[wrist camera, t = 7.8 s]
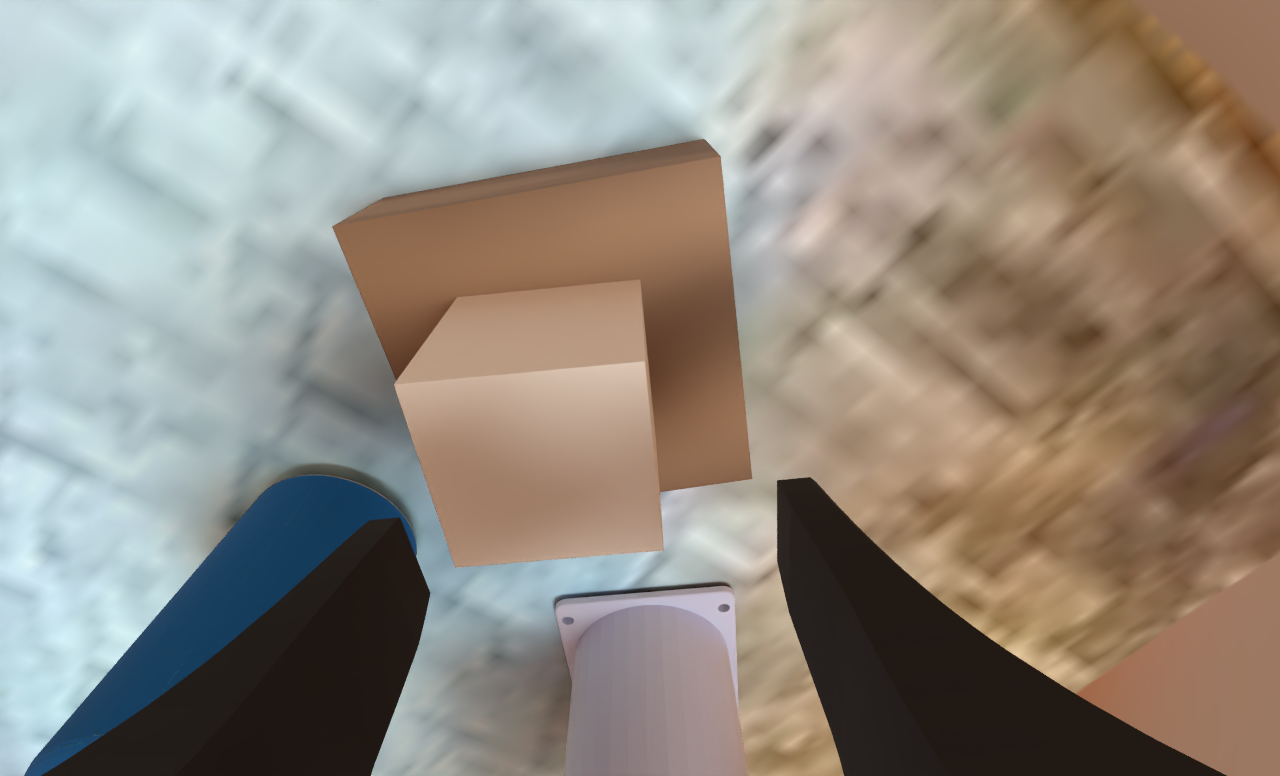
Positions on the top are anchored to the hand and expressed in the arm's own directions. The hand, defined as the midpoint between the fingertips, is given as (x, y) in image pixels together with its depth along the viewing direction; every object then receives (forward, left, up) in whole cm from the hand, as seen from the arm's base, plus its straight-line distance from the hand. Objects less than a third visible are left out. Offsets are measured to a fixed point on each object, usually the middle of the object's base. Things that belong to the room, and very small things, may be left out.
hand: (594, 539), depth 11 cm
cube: (0, +1, -7) cm, 7 cm away
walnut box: (0, +1, -11) cm, 11 cm away
